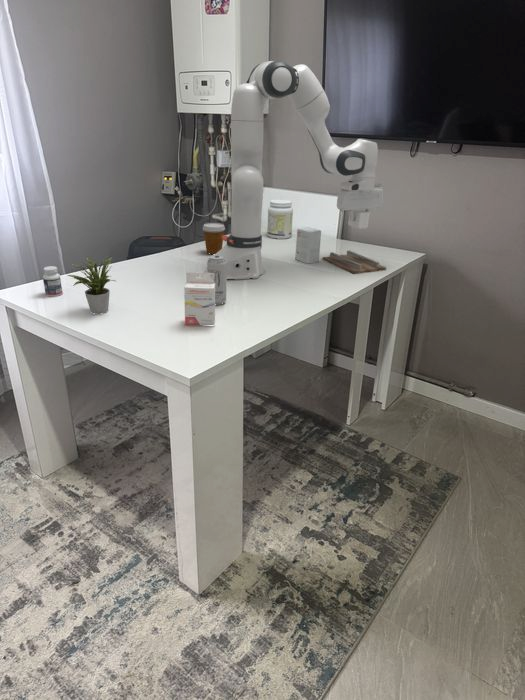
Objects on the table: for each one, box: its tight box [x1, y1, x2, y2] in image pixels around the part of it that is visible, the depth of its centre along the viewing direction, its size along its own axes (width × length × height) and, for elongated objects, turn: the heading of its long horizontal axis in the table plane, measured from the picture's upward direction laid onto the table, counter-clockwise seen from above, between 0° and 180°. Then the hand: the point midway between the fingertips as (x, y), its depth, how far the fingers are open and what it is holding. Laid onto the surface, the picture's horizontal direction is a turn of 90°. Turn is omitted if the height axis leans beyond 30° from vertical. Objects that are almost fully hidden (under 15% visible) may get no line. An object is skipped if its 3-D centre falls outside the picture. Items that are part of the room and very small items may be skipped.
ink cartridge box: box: [183, 271, 216, 326], centre depth 143 cm, size 9×5×15 cm, turn 92°
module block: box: [347, 209, 371, 229], centre depth 199 cm, size 4×7×6 cm, turn 27°
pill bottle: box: [42, 265, 64, 298], centre depth 162 cm, size 5×5×9 cm
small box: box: [295, 226, 322, 265], centre depth 208 cm, size 8×6×13 cm
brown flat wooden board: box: [322, 249, 387, 275], centre depth 207 cm, size 16×22×3 cm
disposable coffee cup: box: [202, 222, 226, 254], centre depth 213 cm, size 10×10×12 cm
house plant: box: [67, 257, 116, 315], centre depth 150 cm, size 14×14×16 cm
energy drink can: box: [206, 255, 227, 305], centre depth 159 cm, size 6×6×15 cm
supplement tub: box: [266, 199, 294, 240], centre depth 244 cm, size 12×12×17 cm
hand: (358, 220), depth 200 cm, fingers closed on module block, 4 cm apart
